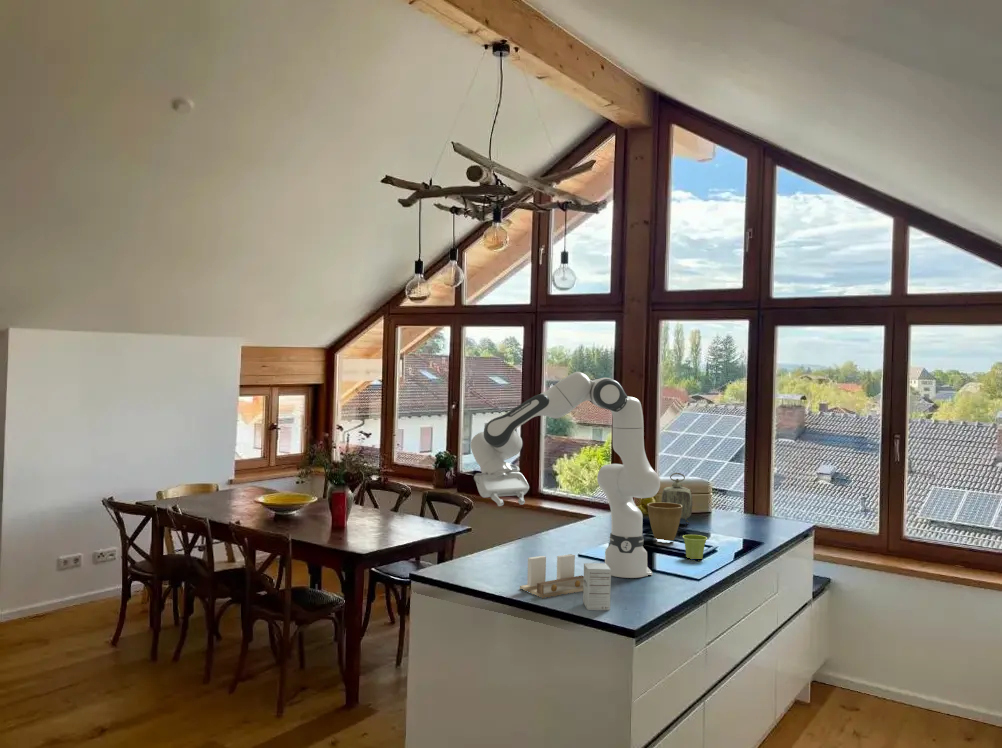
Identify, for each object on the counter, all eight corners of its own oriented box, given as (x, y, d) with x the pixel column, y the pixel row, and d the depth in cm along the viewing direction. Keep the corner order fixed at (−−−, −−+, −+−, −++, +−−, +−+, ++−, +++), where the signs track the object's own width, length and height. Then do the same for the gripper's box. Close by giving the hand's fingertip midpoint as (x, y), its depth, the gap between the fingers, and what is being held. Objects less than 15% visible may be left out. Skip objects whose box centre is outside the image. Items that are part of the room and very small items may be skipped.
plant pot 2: (707, 562, 306) (707, 540, 306) (682, 560, 307) (682, 538, 307) (706, 557, 315) (706, 535, 315) (681, 555, 317) (682, 533, 317)
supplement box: (582, 603, 247) (583, 562, 247) (605, 603, 247) (606, 562, 247) (586, 610, 239) (587, 568, 239) (610, 610, 240) (611, 568, 240)
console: (519, 589, 261) (520, 576, 261) (563, 581, 272) (564, 569, 272) (543, 598, 251) (543, 585, 251) (587, 590, 262) (588, 577, 262)
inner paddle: (556, 583, 263) (557, 556, 263) (570, 580, 267) (570, 554, 267) (560, 584, 262) (561, 557, 262) (574, 582, 265) (574, 555, 265)
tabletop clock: (691, 523, 387) (692, 472, 387) (692, 527, 378) (693, 474, 378) (661, 522, 389) (662, 471, 389) (661, 525, 381) (662, 473, 381)
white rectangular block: (527, 585, 260) (527, 557, 260) (541, 582, 263) (542, 555, 263) (531, 586, 258) (531, 559, 258) (545, 584, 262) (546, 556, 262)
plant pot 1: (658, 536, 353) (659, 500, 353) (688, 542, 343) (688, 505, 343) (639, 541, 342) (640, 504, 342) (669, 547, 332) (670, 509, 332)
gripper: (476, 467, 272) (492, 500, 264) (521, 466, 284) (538, 497, 277) (468, 479, 275) (483, 511, 267) (513, 477, 288) (529, 507, 280)
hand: (512, 504), depth 272 cm, fingers open, 8 cm apart
